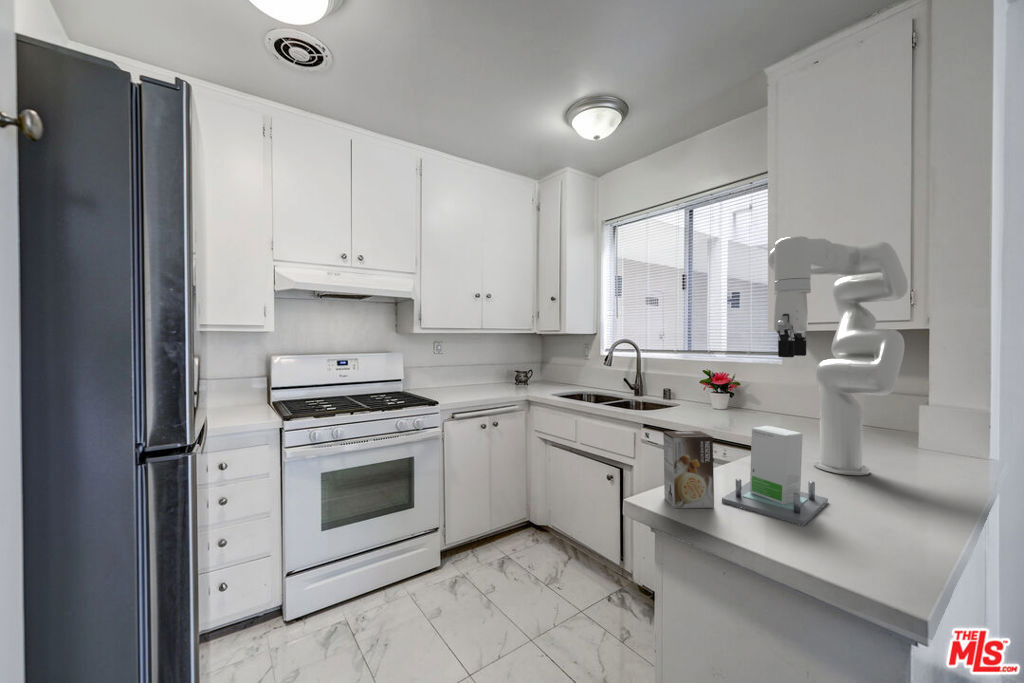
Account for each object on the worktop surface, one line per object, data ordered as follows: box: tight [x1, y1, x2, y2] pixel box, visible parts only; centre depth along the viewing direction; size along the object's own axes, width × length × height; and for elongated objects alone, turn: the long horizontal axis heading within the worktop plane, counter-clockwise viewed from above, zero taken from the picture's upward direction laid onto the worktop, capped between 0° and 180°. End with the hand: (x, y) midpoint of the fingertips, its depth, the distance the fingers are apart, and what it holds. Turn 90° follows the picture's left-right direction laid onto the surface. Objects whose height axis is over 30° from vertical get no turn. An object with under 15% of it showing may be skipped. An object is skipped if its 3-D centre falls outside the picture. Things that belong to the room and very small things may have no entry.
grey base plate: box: [721, 481, 829, 527], centre depth 95 cm, size 18×16×1 cm
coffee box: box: [662, 430, 715, 509], centre depth 96 cm, size 9×6×16 cm
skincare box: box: [749, 425, 804, 505], centre depth 96 cm, size 8×7×16 cm
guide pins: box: [735, 478, 816, 514], centre depth 95 cm, size 12×13×4 cm
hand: (792, 356), depth 103 cm, fingers open, 9 cm apart
